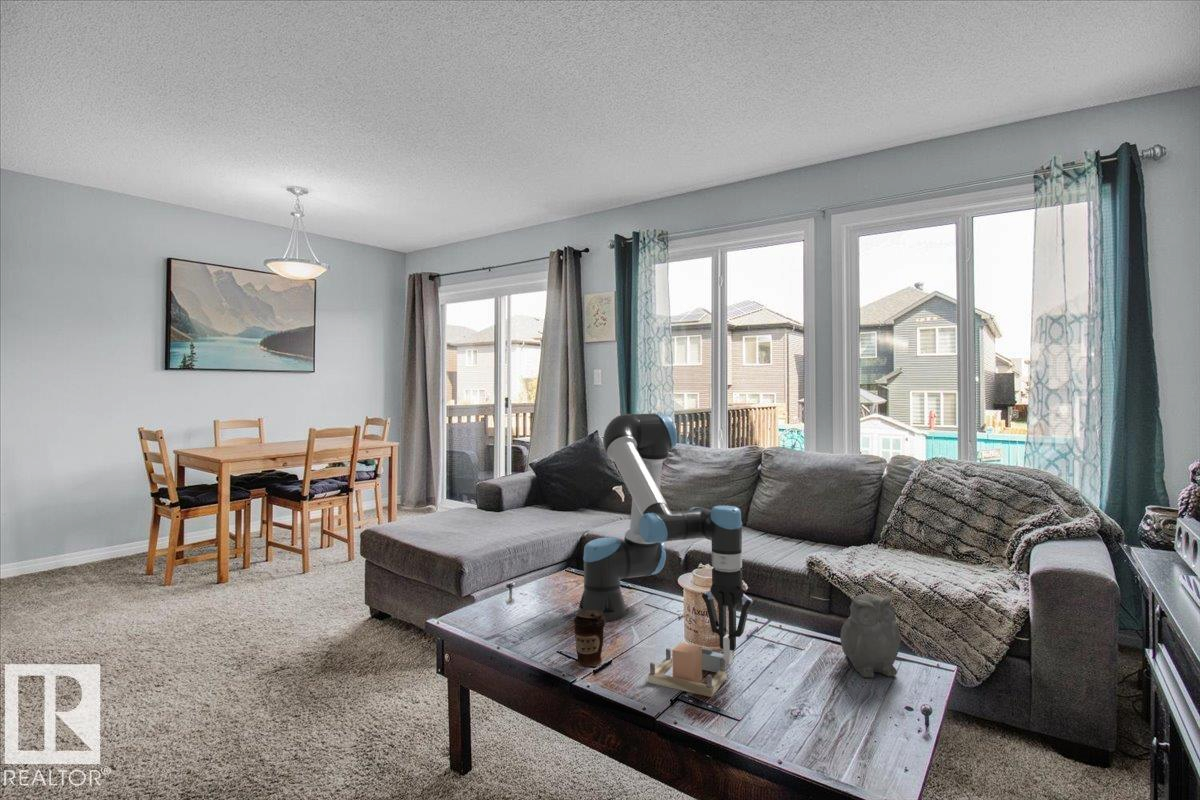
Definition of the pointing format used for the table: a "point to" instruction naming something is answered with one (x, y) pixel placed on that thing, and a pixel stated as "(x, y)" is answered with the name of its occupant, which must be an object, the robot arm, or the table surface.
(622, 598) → the robot arm
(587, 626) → the coffee cup
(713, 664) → the bar
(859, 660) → the figurine
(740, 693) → the table surface
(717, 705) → the table surface
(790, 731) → the table surface
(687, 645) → the block
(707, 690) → the cradle
